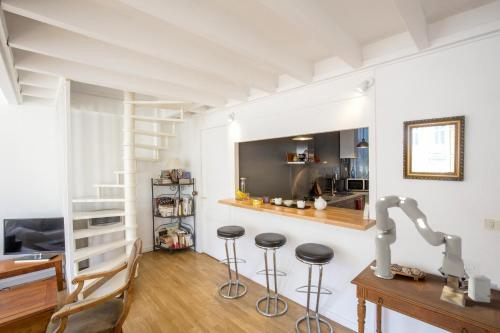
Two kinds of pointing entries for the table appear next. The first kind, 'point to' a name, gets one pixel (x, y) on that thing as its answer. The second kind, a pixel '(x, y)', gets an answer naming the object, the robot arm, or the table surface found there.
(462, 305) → the blueprint board
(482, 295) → the skincare box
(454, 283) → the walnut block
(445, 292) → the oak block
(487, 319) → the table surface
